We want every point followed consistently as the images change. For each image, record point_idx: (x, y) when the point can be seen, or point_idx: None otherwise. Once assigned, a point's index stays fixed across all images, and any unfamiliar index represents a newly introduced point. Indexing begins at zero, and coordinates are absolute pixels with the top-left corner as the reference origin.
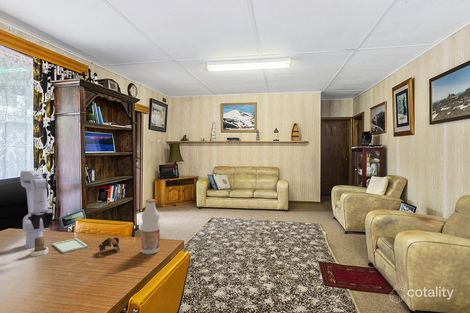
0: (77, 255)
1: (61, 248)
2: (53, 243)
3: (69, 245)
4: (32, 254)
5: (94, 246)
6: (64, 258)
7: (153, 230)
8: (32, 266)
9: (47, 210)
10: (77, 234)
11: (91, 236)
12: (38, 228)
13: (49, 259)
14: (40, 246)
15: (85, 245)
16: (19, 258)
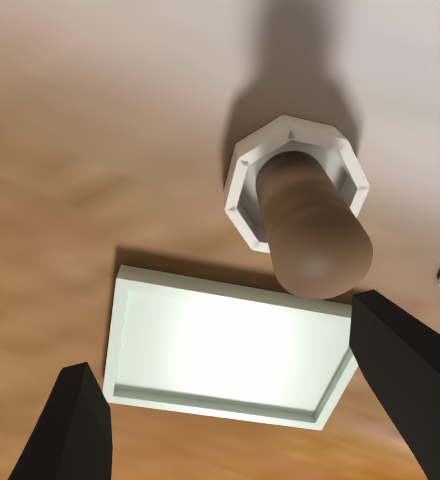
0: (9, 300)
1: (226, 307)
2: None
3: (238, 357)
4: (277, 125)
5: None
6: (15, 232)
7: None
8: (18, 3)
9: None
10: None
11: (303, 475)
12: (351, 343)
13: (86, 166)
14: (263, 208)
15: (111, 395)
16: (354, 36)
